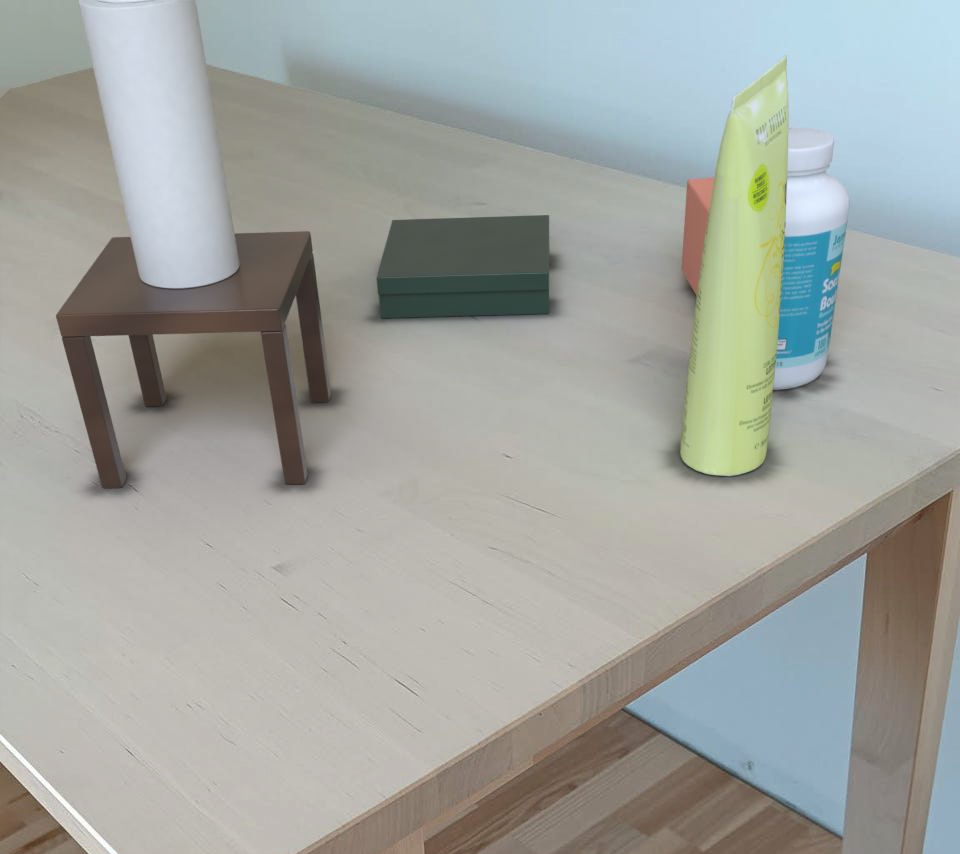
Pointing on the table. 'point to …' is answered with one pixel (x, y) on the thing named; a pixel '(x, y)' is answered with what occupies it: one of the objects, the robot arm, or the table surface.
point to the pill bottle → (809, 258)
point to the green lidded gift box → (465, 267)
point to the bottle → (163, 138)
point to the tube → (740, 286)
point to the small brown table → (206, 309)
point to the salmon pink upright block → (695, 227)
